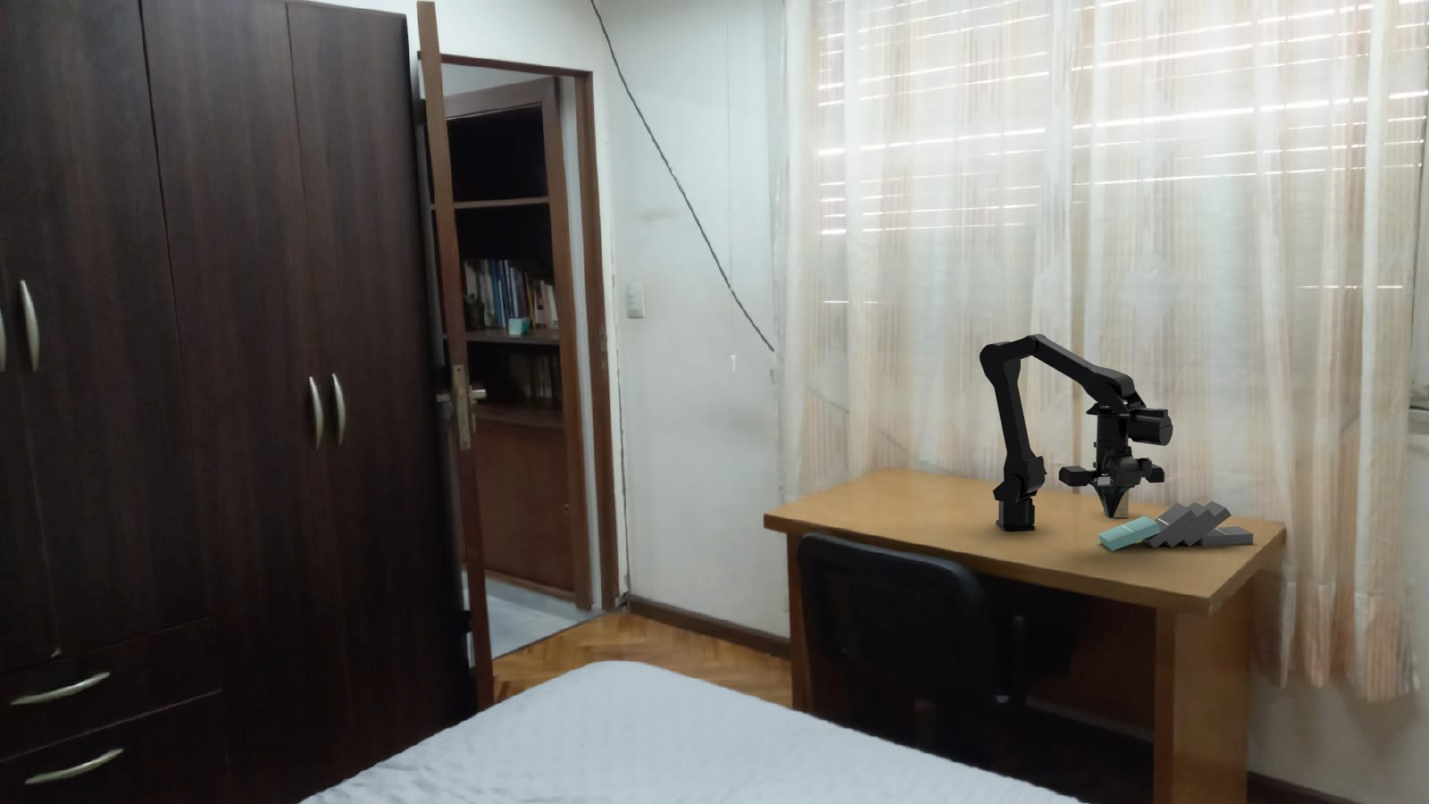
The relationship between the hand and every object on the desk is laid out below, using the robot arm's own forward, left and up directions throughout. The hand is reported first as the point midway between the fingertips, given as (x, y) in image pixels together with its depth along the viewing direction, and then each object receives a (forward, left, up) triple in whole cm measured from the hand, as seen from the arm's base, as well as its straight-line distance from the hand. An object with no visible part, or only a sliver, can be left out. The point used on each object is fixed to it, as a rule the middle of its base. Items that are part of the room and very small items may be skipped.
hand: (1109, 517), depth 187 cm
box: (+11, +21, -6) cm, 25 cm away
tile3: (+11, 0, -5) cm, 12 cm away
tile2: (+7, 0, -5) cm, 9 cm away
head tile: (-1, 0, -5) cm, 5 cm away
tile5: (+17, 0, -5) cm, 18 cm away
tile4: (+14, 0, -5) cm, 15 cm away
